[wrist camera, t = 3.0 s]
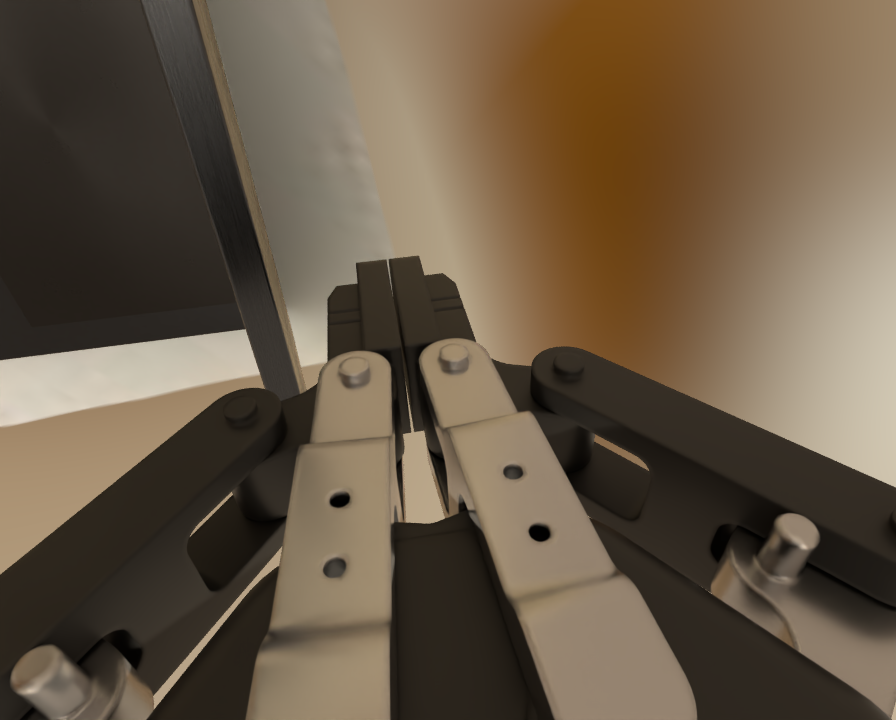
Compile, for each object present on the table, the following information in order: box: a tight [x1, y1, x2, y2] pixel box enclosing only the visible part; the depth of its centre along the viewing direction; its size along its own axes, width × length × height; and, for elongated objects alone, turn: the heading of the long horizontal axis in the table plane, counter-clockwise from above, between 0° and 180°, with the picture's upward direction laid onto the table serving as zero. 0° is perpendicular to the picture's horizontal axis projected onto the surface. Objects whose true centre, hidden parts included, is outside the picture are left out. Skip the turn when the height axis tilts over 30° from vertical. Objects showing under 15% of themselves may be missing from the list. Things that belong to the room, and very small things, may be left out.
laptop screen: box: [139, 0, 306, 401], centre depth 20 cm, size 20×26×1 cm
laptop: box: [0, 0, 245, 360], centre depth 27 cm, size 20×26×2 cm
